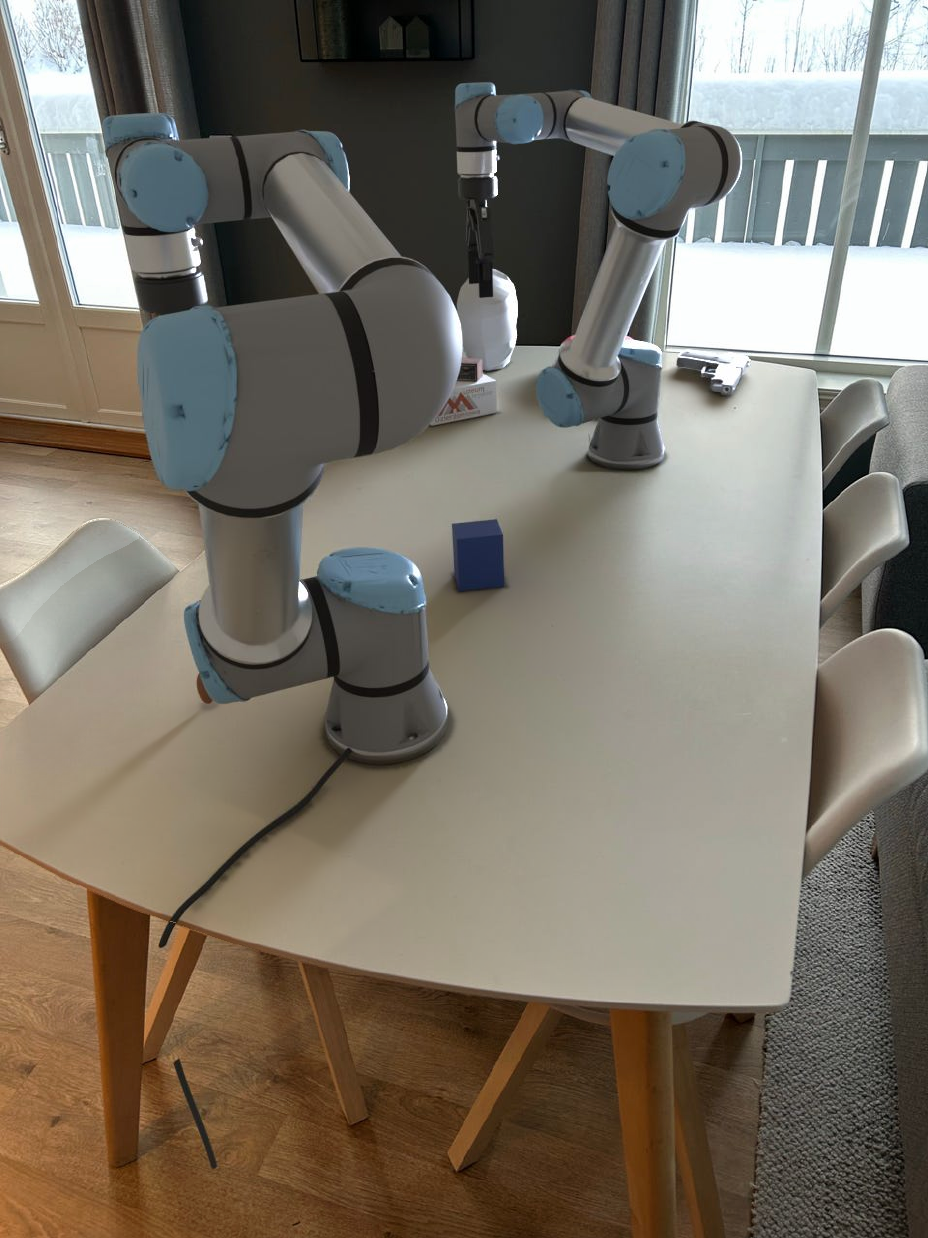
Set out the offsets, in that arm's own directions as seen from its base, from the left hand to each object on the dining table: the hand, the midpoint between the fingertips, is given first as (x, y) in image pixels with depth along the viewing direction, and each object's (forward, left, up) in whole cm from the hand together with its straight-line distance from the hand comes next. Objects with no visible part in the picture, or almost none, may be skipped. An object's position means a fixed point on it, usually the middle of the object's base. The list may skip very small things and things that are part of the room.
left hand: (203, 450), depth 113 cm
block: (+26, -29, -31) cm, 49 cm away
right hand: (+92, -17, 0) cm, 94 cm away
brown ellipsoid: (-12, 0, -31) cm, 33 cm away
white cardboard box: (+107, -6, -31) cm, 111 cm away
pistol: (+136, -66, -31) cm, 154 cm away
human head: (+143, -9, -31) cm, 147 cm away
